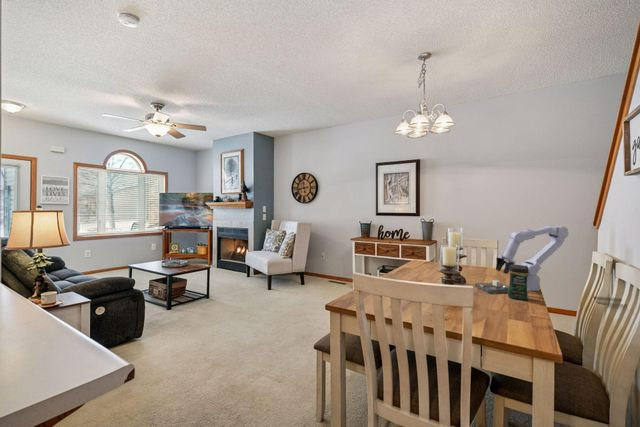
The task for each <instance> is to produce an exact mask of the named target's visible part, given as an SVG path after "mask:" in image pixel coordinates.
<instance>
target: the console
mask: <svg viewBox="0 0 640 427" xmlns="http://www.w3.org/2000/svg"><path fill="white" fill-rule="evenodd" d="M492 283H493V282H481V283H480V282H479V283H478V282H477V283H474V288H477V289H479V290H480V291H481V290H482V291H483V292H485V293H486V294H508V288H509V285H505V284H503V283H501V282H500V287H496V286H494V285H492Z"/></svg>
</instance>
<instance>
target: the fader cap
mask: <svg viewBox="0 0 640 427" xmlns="http://www.w3.org/2000/svg"><path fill="white" fill-rule="evenodd" d="M491 283H492V285H494V286H496V287H500V283H501V281H499V279H498V280H497V279H492V282H491Z"/></svg>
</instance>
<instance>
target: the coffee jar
mask: <svg viewBox="0 0 640 427" xmlns="http://www.w3.org/2000/svg"><path fill="white" fill-rule="evenodd" d="M508 273H509V283H508V287H509V288H508V293H507V297H509V299H516V300H528V297H529V296H528V291H527V277H528V275H529V270H528V266H523V265H520V264H511V265H510V269H509V272H508Z"/></svg>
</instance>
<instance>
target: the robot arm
mask: <svg viewBox="0 0 640 427" xmlns="http://www.w3.org/2000/svg"><path fill="white" fill-rule="evenodd" d="M546 234H547V235H548V238H549V240H550V242H549V243H547V244H546V245H545V246H543V248H542V249H541V250H540V251H538V253H537V252H536V254H535V255H534V256H533V257H532V258H529V259H527V260H525V261H523V262H521V263H520V264H519V265H523V266H528V270H529V275H528V277H527V292H531V291H532V292H534V291H535V292H537V291H539V292H540V291H541V289H540V287H541V278H540V276H539V275H537V274H539V271H540V270H541V268H542V267H541V265H542V264H543V263H544V262H545V261H546V260H548V258H549V257H551V256H552V255H553V254H554V253H555V252H556V251H557V250H558V249H559V248H560V247H561V246H562V245H563V244H564V242H565V240H566V238H568V237H569V229H568V228H567V227H566V226H559V225H553V224H551V225H547V226H543V227H540V228H537V229H534V230H533V229H531V228H526V230H519V231H518V232H516V231H514V232H511V234H509V237H508V238H509V241H508V243H507V246H506V248H505V250H504V253H503V255H501V254H498V256H497V257H496V266H495V270H496V271H498V272H501V270H502V269H503V266H504V265H505V266H504V269H503V274H505V275H507V274H508V273H509V269H510V265H511V264H514V265H516V263H517V261H516V260H514V258H515V256H516V254H517V252H518V250H519V247H520V245H521V244H522V243H524V242H525V241H528V240H532V239H535V238H536V237H537V236H541V235H546Z"/></svg>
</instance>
